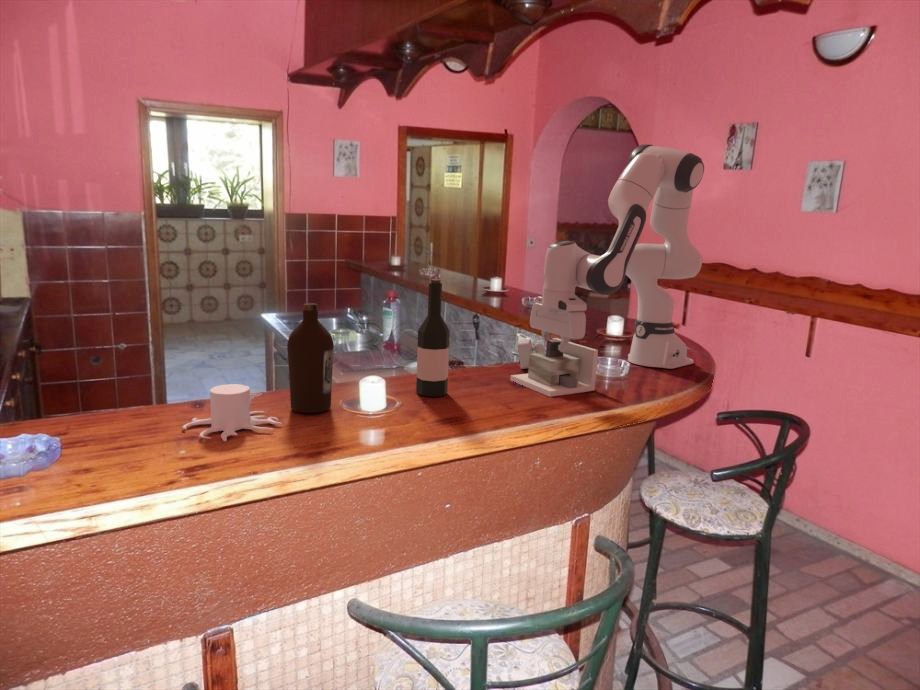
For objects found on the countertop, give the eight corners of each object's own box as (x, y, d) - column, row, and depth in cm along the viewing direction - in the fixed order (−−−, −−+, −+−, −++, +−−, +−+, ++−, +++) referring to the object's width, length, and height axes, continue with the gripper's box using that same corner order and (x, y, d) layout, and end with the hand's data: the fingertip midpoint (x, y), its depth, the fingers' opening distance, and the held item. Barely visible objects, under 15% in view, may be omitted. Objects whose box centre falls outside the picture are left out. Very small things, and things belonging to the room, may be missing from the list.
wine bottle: (429, 386, 178) (432, 277, 172) (453, 392, 173) (458, 280, 167) (409, 392, 171) (412, 279, 165) (434, 398, 167) (438, 282, 161)
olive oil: (282, 413, 150) (281, 306, 145) (294, 399, 161) (293, 299, 156) (328, 415, 150) (328, 308, 145) (337, 401, 161) (337, 301, 156)
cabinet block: (555, 374, 191) (557, 337, 189) (577, 382, 183) (581, 344, 180) (527, 377, 186) (530, 340, 184) (550, 386, 178) (552, 347, 175)
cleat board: (553, 375, 196) (556, 337, 194) (594, 390, 181) (598, 350, 179) (510, 380, 188) (512, 341, 186) (549, 396, 173) (552, 354, 171)
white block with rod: (555, 372, 197) (551, 340, 195) (521, 375, 199) (517, 344, 198) (556, 366, 205) (552, 335, 203) (524, 369, 207) (520, 339, 205)
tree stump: (291, 429, 141) (291, 393, 140) (199, 446, 129) (198, 407, 128) (257, 405, 157) (256, 372, 155) (172, 418, 145) (170, 383, 143)
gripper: (526, 295, 187) (523, 342, 189) (573, 306, 170) (569, 357, 172) (543, 295, 190) (540, 341, 193) (591, 305, 173) (587, 355, 176)
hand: (554, 349), depth 182 cm, fingers open, 5 cm apart
